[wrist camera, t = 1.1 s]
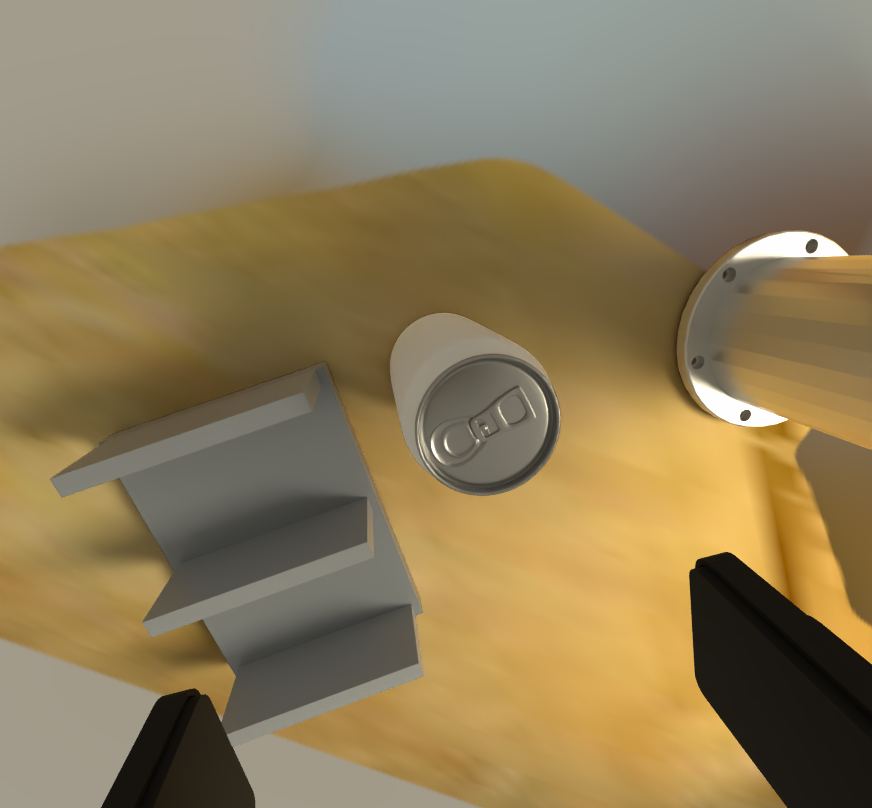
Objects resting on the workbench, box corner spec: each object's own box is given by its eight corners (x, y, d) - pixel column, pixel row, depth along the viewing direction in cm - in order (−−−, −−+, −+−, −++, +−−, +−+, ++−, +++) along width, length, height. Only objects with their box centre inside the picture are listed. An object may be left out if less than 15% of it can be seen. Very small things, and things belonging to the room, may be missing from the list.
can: (368, 347, 28) (369, 401, 17) (462, 291, 28) (526, 307, 17) (422, 433, 30) (456, 534, 19) (510, 381, 30) (597, 452, 19)
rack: (325, 361, 28) (314, 388, 22) (420, 598, 34) (432, 672, 27) (112, 434, 28) (38, 482, 21) (244, 662, 33) (215, 753, 27)
